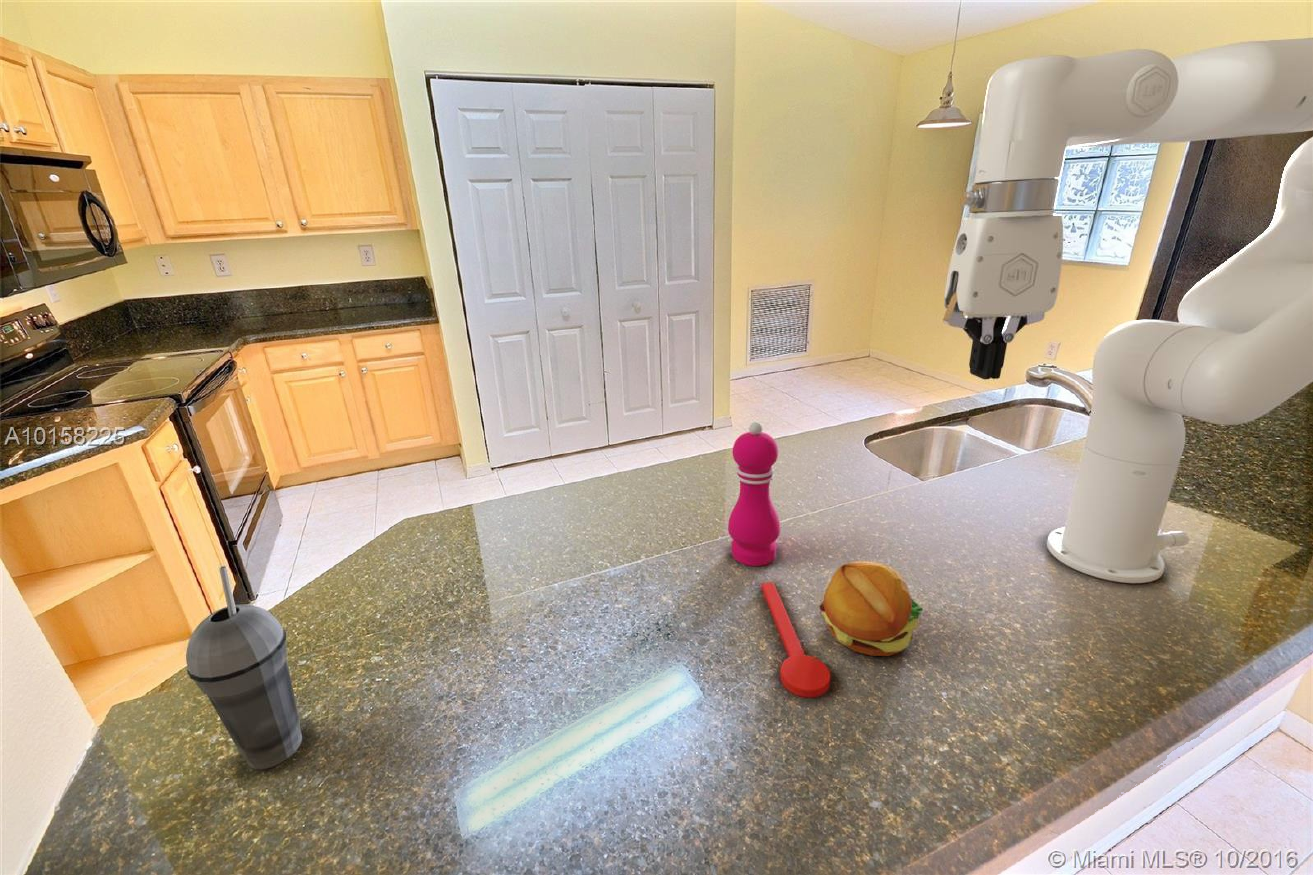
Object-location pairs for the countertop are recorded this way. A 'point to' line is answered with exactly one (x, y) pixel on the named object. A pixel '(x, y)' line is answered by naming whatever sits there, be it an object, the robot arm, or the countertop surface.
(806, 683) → the spoon
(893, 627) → the cheeseburger
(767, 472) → the pepper mill
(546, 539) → the countertop surface
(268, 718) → the beverage cup
